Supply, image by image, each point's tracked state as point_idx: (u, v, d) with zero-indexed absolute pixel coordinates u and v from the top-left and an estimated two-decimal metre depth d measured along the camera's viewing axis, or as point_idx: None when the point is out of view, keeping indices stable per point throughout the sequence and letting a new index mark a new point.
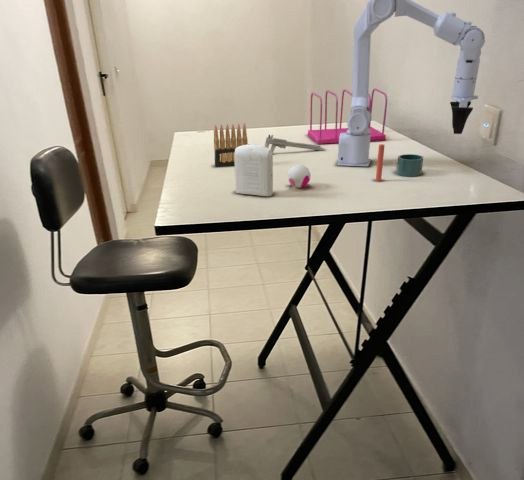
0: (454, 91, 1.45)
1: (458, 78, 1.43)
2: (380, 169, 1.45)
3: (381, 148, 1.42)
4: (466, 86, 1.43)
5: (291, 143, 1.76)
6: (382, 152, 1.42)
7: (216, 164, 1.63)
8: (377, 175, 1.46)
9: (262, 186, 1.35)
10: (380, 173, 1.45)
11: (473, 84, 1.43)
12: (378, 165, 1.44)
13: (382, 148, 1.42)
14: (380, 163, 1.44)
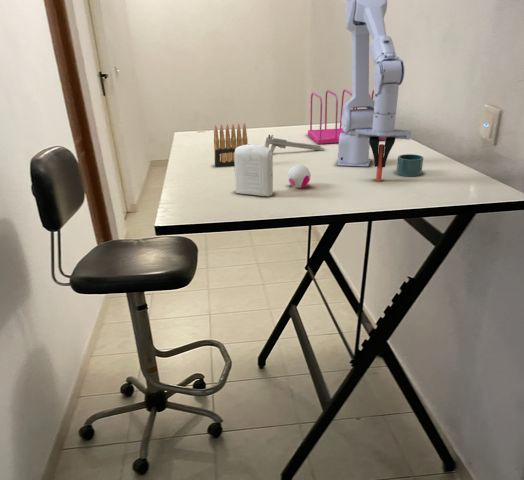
0: None
1: None
2: (380, 169, 1.45)
3: (381, 148, 1.42)
4: (373, 119, 1.39)
5: (291, 143, 1.76)
6: (382, 152, 1.42)
7: (216, 164, 1.63)
8: (377, 175, 1.46)
9: (262, 186, 1.35)
10: (380, 173, 1.45)
11: (376, 119, 1.37)
12: (378, 165, 1.44)
13: (382, 148, 1.42)
14: (380, 163, 1.44)
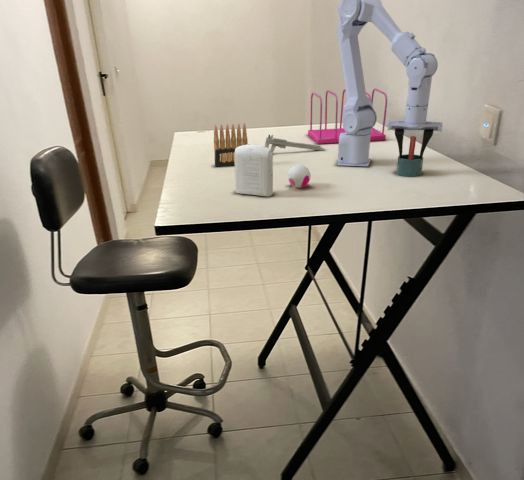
0: None
1: None
2: None
3: (413, 140, 1.47)
4: None
5: (291, 143, 1.76)
6: (414, 144, 1.47)
7: (216, 164, 1.63)
8: None
9: (262, 186, 1.35)
10: None
11: (409, 111, 1.42)
12: (409, 156, 1.49)
13: (414, 140, 1.47)
14: (411, 154, 1.49)
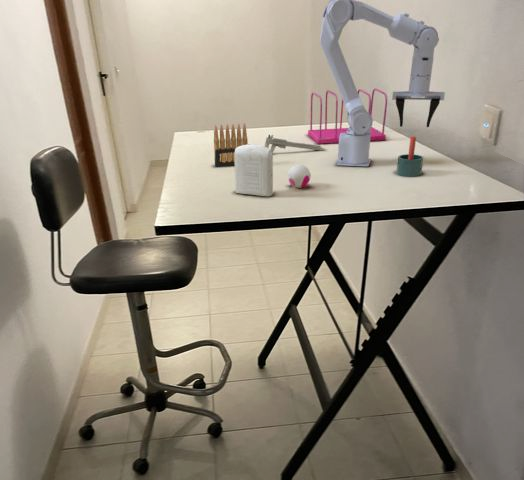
0: None
1: None
2: None
3: (413, 140, 1.47)
4: None
5: (291, 143, 1.76)
6: (414, 144, 1.47)
7: (216, 164, 1.63)
8: None
9: (262, 186, 1.35)
10: None
11: (413, 81, 1.49)
12: (409, 156, 1.49)
13: (414, 140, 1.47)
14: (411, 154, 1.49)
